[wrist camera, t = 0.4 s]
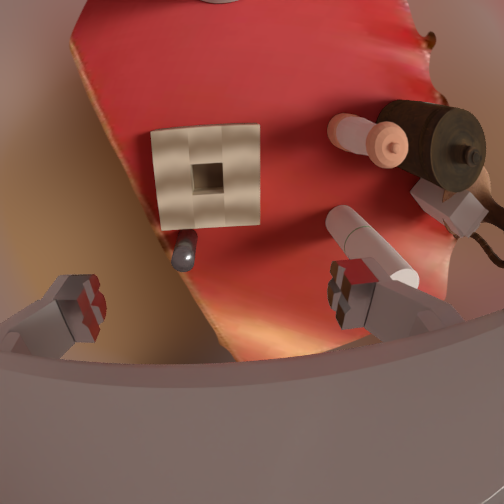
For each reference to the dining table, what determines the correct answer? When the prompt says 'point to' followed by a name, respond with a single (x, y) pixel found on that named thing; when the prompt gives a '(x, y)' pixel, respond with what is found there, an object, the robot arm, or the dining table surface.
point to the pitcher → (495, 215)
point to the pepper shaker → (369, 139)
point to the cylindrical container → (367, 244)
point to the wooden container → (439, 142)
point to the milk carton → (450, 207)
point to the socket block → (207, 175)
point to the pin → (184, 250)
